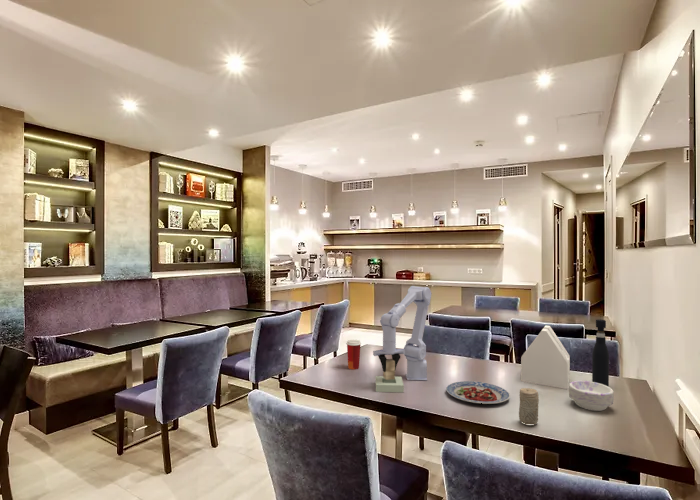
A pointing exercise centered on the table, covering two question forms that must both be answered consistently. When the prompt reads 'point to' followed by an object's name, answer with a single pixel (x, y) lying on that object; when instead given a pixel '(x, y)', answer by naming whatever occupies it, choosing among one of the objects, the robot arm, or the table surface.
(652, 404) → the table surface
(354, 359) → the paper cup
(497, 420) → the table surface
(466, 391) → the ceramic plate
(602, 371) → the wine bottle
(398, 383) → the socket block
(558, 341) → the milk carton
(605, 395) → the white round bowl
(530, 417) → the jute twine spool
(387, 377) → the maple peg
